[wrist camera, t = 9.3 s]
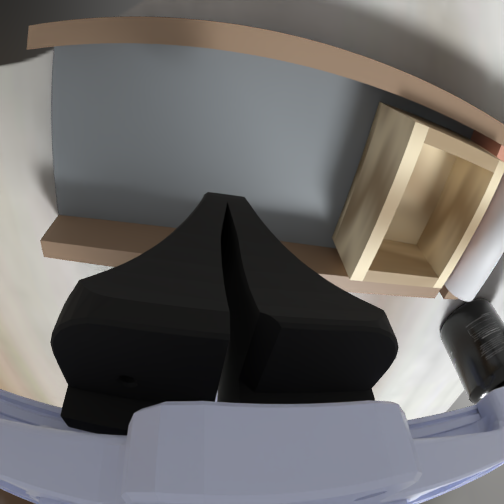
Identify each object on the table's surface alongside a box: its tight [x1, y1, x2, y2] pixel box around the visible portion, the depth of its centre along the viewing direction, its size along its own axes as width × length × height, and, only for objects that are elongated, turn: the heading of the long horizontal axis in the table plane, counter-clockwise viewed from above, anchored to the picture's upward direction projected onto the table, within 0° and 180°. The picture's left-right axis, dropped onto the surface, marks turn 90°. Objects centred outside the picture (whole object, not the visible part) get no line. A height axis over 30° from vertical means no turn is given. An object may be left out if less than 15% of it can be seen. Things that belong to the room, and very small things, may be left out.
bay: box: [27, 17, 504, 302], centre depth 16 cm, size 13×29×5 cm, turn 79°
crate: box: [332, 102, 504, 288], centre depth 17 cm, size 9×7×4 cm
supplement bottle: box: [441, 298, 504, 404], centre depth 24 cm, size 7×7×12 cm
